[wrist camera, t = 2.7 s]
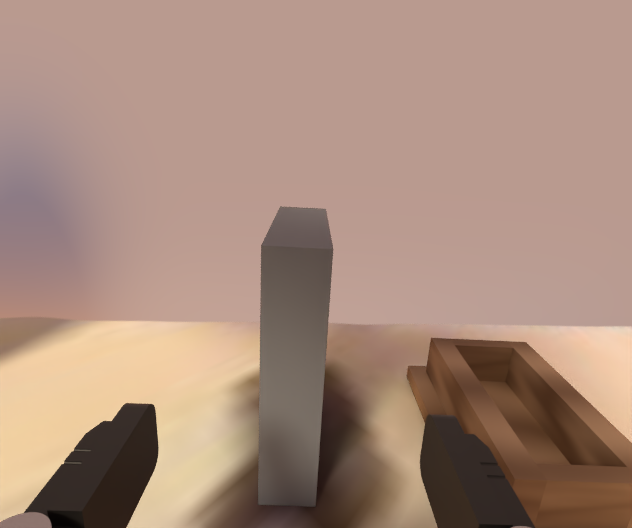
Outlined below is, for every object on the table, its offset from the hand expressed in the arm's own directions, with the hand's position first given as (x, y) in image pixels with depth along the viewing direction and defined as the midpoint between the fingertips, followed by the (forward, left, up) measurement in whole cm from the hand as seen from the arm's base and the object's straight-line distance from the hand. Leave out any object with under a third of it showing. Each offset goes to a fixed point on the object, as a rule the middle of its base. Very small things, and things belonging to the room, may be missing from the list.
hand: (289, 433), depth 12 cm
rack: (+2, +18, -10) cm, 21 cm away
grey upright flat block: (-8, +8, -10) cm, 15 cm away
